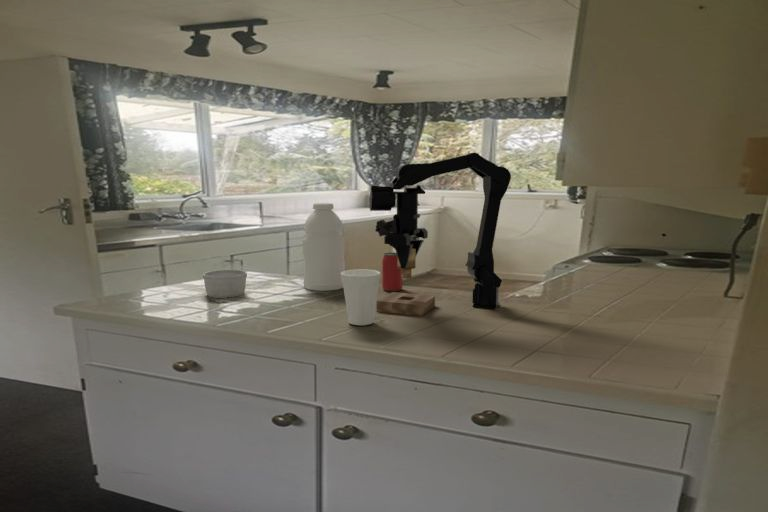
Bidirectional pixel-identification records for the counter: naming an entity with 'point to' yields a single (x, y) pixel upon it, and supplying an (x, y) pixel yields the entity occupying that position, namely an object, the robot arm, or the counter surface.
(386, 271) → the beer can
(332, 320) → the counter surface
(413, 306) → the board
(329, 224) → the bottle
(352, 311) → the cup
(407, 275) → the peg
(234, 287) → the ramekin
